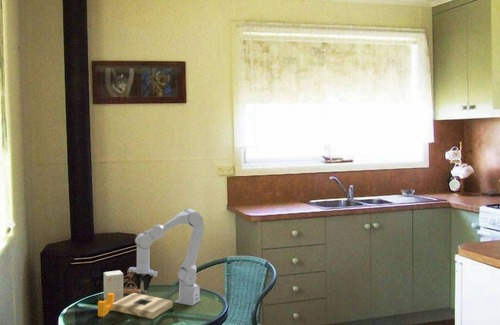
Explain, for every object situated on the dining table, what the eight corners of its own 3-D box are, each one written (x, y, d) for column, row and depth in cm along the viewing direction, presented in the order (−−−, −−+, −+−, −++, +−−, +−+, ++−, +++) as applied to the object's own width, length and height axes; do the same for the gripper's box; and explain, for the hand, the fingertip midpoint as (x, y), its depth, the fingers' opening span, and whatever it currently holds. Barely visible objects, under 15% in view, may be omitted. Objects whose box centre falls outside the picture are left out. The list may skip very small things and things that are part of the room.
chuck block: (172, 306, 236) (172, 300, 236) (152, 318, 222) (152, 312, 222) (133, 298, 245) (133, 292, 245) (111, 309, 231) (111, 303, 230)
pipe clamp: (105, 306, 235) (105, 292, 235) (114, 307, 235) (114, 293, 234) (94, 316, 223) (94, 302, 223) (103, 317, 223) (103, 302, 222)
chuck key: (149, 292, 235) (149, 276, 235) (142, 295, 230) (143, 279, 230) (143, 291, 236) (144, 275, 236) (136, 294, 231) (137, 278, 231)
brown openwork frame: (121, 294, 251) (121, 270, 250) (121, 291, 255) (121, 267, 254) (139, 293, 254) (140, 269, 253) (139, 290, 257) (139, 267, 256)
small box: (120, 296, 249) (120, 269, 247) (123, 300, 243) (123, 273, 242) (103, 298, 245) (103, 271, 244) (106, 302, 239) (106, 275, 238)
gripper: (124, 260, 231) (124, 289, 232) (151, 264, 225) (151, 294, 226) (134, 256, 237) (133, 284, 238) (160, 260, 231) (160, 290, 233)
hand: (142, 289), depth 233 cm, fingers closed on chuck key, 3 cm apart
